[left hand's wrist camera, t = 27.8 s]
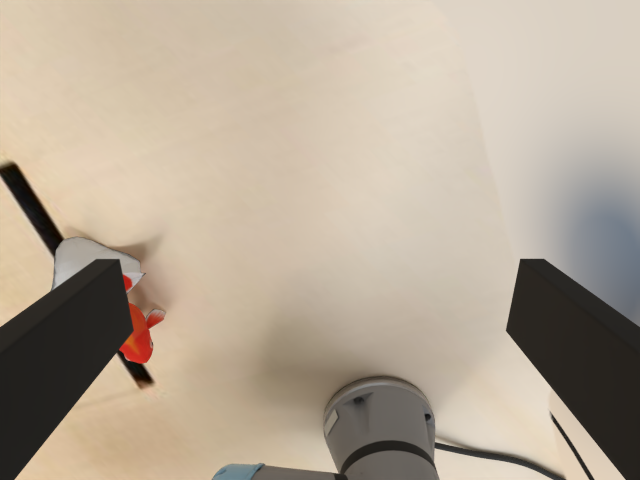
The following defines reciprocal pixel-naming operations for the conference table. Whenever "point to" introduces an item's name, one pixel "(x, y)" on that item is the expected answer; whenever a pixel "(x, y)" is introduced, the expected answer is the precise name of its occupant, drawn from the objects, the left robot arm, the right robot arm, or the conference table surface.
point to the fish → (84, 251)
